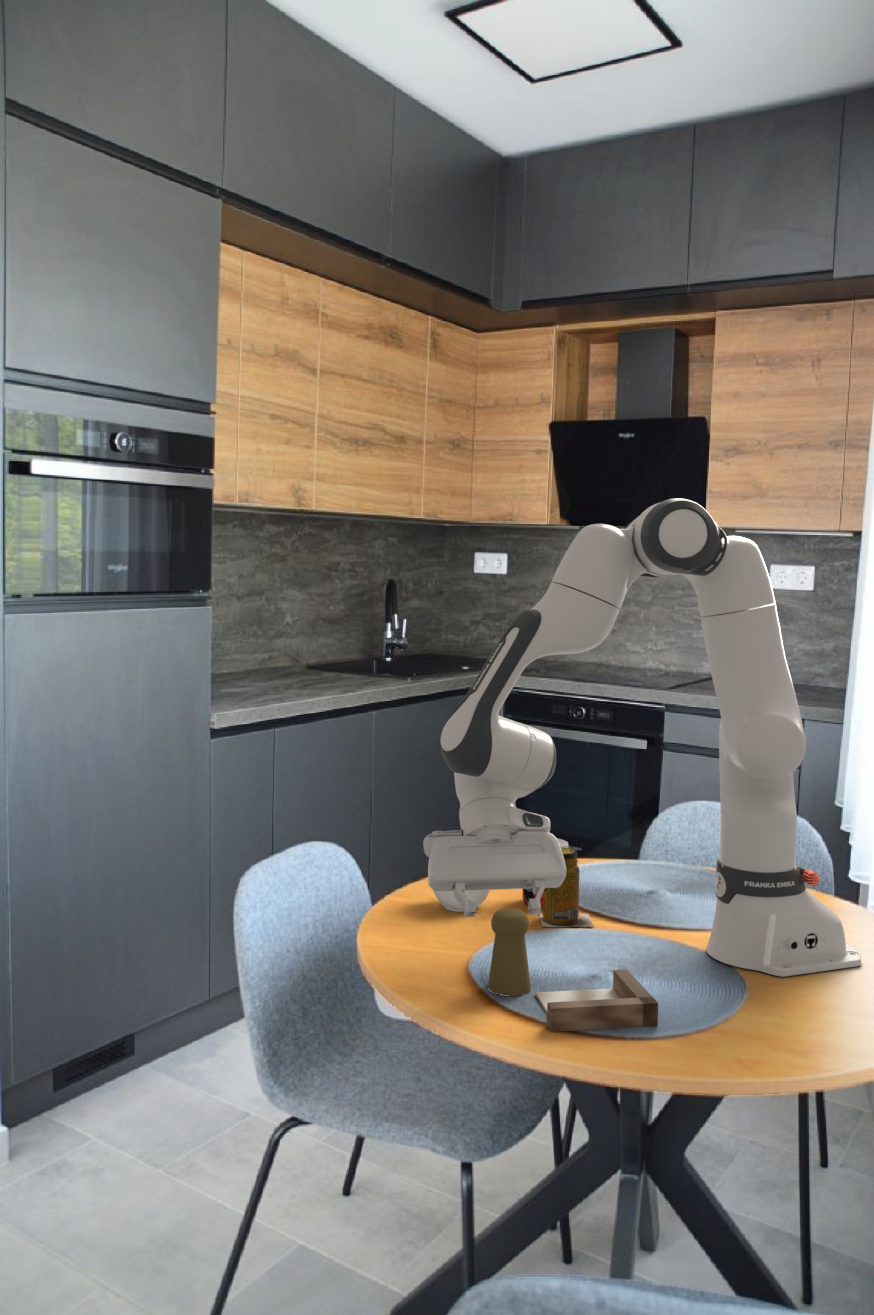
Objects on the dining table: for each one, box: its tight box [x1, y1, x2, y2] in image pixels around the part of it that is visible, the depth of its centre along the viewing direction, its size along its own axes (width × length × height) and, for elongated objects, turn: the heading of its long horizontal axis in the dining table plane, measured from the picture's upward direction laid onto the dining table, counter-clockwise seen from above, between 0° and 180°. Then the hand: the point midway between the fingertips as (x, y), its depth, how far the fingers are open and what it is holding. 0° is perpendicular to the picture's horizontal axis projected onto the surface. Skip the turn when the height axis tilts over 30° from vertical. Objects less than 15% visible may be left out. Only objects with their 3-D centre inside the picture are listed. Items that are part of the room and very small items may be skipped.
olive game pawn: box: [487, 908, 532, 997], centre depth 148 cm, size 6×6×11 cm
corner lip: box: [535, 968, 659, 1033], centre depth 141 cm, size 14×12×3 cm
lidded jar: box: [432, 889, 491, 913], centre depth 186 cm, size 11×11×9 cm
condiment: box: [538, 847, 595, 928], centre depth 179 cm, size 7×8×12 cm
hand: (503, 914), depth 152 cm, fingers open, 8 cm apart
